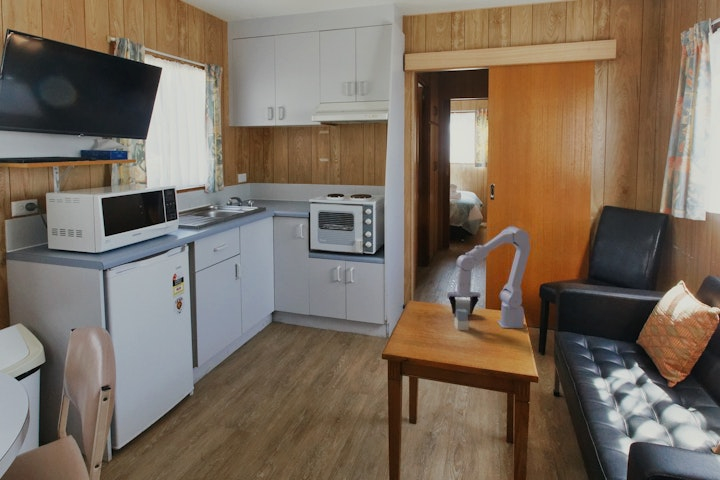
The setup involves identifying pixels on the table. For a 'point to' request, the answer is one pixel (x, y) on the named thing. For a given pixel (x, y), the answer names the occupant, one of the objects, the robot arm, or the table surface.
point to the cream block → (461, 325)
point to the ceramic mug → (462, 305)
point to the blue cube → (461, 314)
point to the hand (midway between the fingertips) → (462, 313)
